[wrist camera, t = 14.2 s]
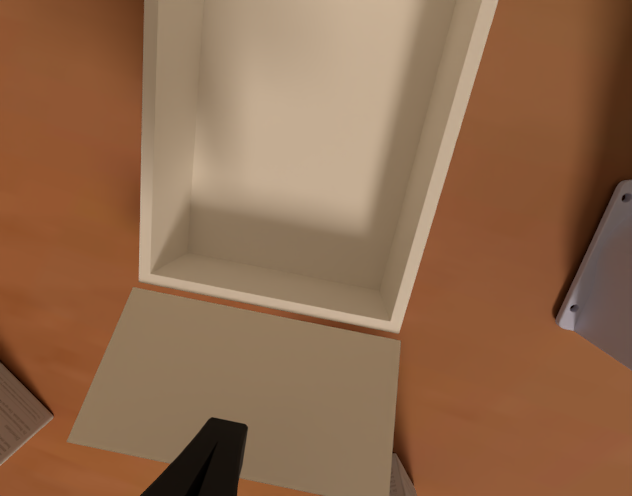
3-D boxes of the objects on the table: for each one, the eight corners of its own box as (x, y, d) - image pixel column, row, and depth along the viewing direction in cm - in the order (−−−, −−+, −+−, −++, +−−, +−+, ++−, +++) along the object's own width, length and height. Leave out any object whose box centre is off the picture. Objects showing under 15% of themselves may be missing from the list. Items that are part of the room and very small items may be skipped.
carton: (384, 297, 20) (398, 333, 15) (181, 256, 20) (138, 281, 16) (485, -73, 14) (551, -178, 10) (205, -123, 14) (148, -248, 10)
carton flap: (400, 340, 15) (398, 341, 15) (133, 287, 15) (137, 288, 16) (387, 508, 13) (385, 504, 13) (66, 442, 13) (73, 439, 13)
